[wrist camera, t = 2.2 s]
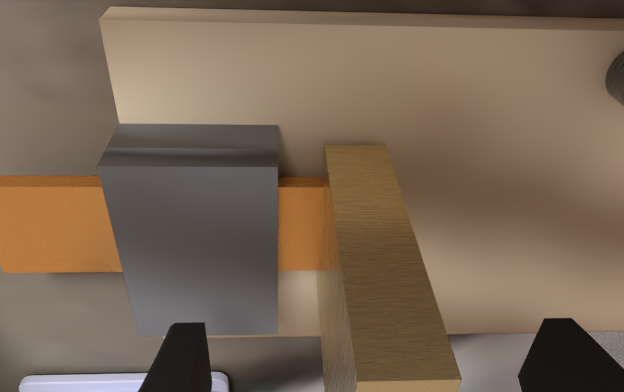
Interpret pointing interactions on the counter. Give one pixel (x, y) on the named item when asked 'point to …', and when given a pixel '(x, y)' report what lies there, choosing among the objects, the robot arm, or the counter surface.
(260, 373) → the counter surface
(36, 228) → the tan wooden block
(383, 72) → the strap board
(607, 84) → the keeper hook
